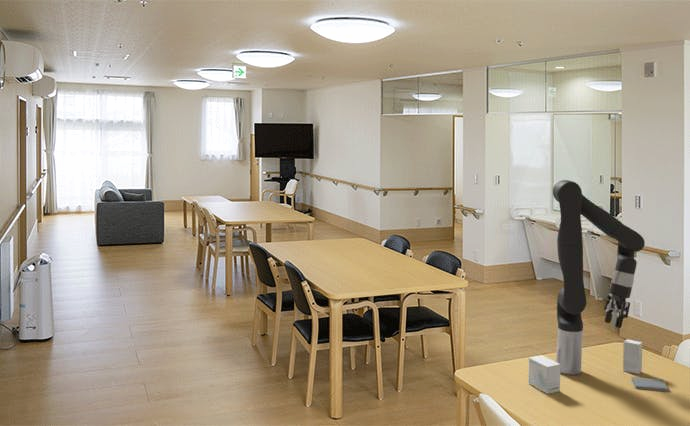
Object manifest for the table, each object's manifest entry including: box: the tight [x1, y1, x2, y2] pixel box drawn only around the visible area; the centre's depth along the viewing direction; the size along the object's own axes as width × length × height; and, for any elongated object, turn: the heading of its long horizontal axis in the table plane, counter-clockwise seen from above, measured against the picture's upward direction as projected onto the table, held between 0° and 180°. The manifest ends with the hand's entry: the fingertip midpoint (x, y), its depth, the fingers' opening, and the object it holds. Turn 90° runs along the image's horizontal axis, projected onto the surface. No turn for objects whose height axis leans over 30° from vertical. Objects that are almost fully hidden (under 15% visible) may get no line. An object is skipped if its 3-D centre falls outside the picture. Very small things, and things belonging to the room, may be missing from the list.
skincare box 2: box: [622, 339, 643, 375], centre depth 252 cm, size 6×4×12 cm
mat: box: [631, 376, 669, 392], centre depth 239 cm, size 11×9×1 cm
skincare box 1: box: [528, 354, 561, 395], centre depth 236 cm, size 10×6×10 cm, turn 23°
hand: (612, 325), depth 247 cm, fingers open, 8 cm apart
